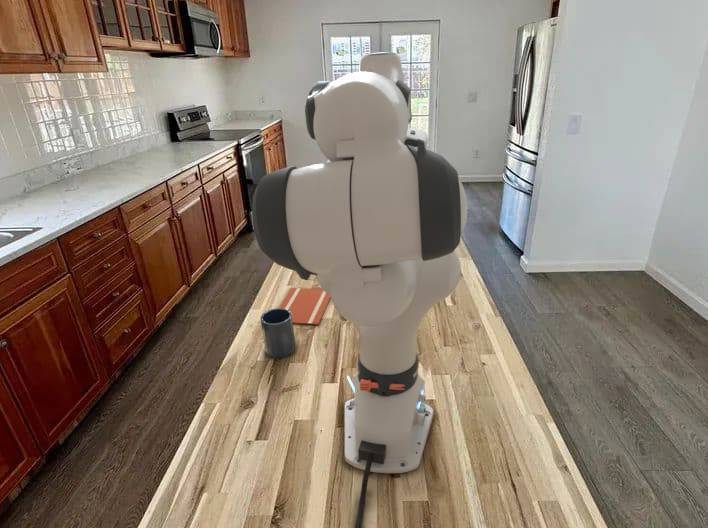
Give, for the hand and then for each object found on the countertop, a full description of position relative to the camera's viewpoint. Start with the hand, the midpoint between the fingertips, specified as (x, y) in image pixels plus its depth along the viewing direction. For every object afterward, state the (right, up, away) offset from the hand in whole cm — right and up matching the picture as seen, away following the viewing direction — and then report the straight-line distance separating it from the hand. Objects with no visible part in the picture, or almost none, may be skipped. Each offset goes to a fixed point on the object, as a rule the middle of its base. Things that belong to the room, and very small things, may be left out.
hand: (388, 201), depth 97 cm
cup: (-27, -36, +16) cm, 48 cm away
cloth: (-24, -26, +36) cm, 51 cm away
